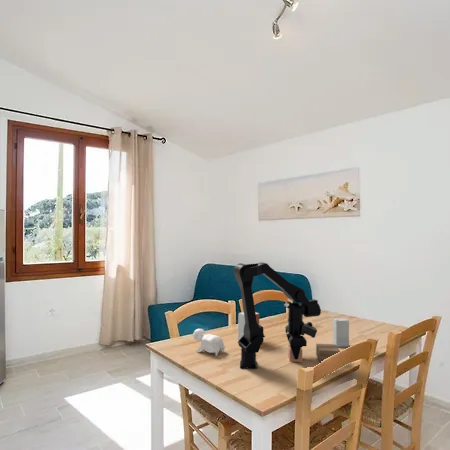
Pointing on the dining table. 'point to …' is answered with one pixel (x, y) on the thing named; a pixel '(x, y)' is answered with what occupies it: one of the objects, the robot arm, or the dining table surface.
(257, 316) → the small box
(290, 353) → the terracotta cube
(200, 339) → the white animal figurine
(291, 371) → the dining table surface
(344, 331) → the skincare box
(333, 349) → the walnut block
